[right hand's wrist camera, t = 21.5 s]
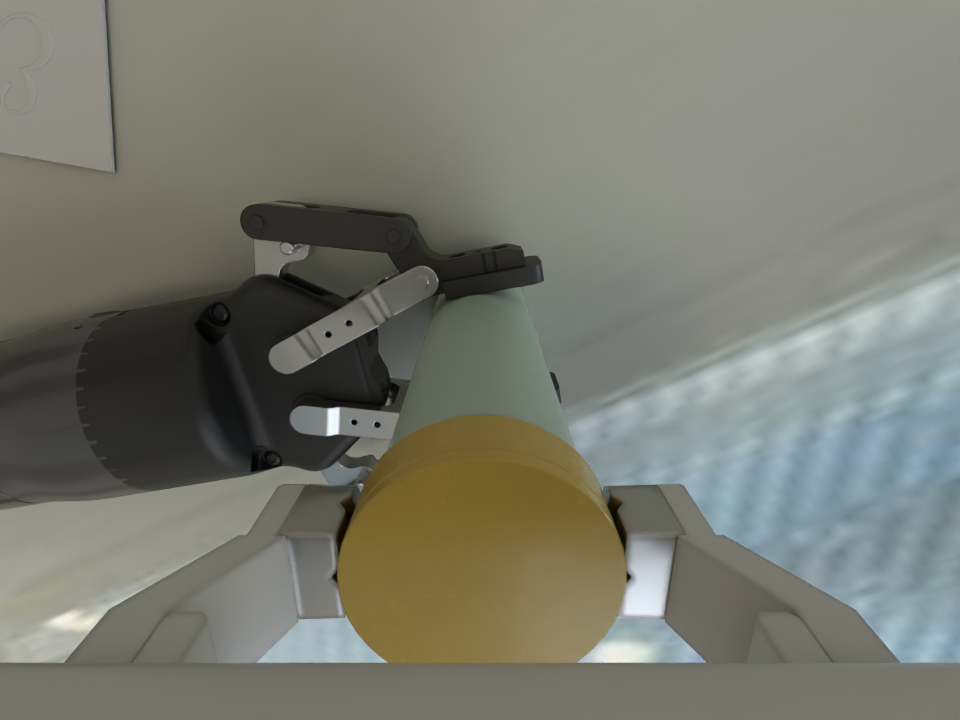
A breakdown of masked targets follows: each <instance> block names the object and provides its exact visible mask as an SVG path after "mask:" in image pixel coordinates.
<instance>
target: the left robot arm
mask: <svg viewBox="0 0 960 720" xmlns="http://www.w3.org/2000/svg"><path fill="white" fill-rule="evenodd" d="M240 222H241V226H242V228H243V230H244V232H245V233H246V234H247V235H248V236H250V237H251V238H253V244H254V268H255V276H253V277H251V278H249V279H247V280H246V281H245V282H244V283H243V284H242V285H241V286H240V287H239V288H237V289H236V290H233V291H229V292H224V293H219V294H213V295H208V296H203V297H198V298H192V299H187V300H182V301H176V302H171V303H166V304H160V305H155V306H150V307H145V308H139V309H134V310H129V311H123V312H122V311H111V312H103V313H97V314H94V315H93V316H91V317H89V318H86V319H81V320H76V321H71V322H67V323H63V324H58V325H54V326H51V327H48V328H45V329H42V330H39V331H36V332H33V333H31V334H28V335H25V336H22V337H18V338H14V339H9V340H4V341H0V510H4V509H10V508H16V507H22V506H28V505H34V504H40V503H46V502H54V501H90V500H99V499H107V498H114V497H120V496H126V495H132V494H138V493H144V492H151V491H157V490H163V489H169V488H175V487H181V486H187V485H193V484H199V483H205V482H212V481H218V480H224V479H230V478H236V477H242V476H248V475H253V474H256V473H260V472H263V471H266V470H269V469H272V468H276V467H280V466H292V467H297V468H301V469H304V470H308V471H321V472H322V474H323V475H324V477H325V478H326V480H327V481H328V482H329V484H330V485H358V487H359V489H360V493H361V491H362V488H363V486H364V483H365V481H366V479H367V477H368V475H369V474H370V472H371V470H372V469H373V467H374V466H375V464H376V463H377V462H378V461H379V460H380V459H379V460H377V459H376V458H375V456H373V455H367V456H362V457H358V458H354V457H350V456H348V455H346V454H345V453H346V452H347V451H348V450H349V449H350V448H351V447H352V446H353V444H354V443H355V442H356V441H357V440H358V439H359V438H360V437H367V438H376V439H385V440H391V438H392V435H393V432H394V429H395V426H396V423H397V420H398V417H399V414H400V411H401V408H402V405H403V402H404V399H405V396H406V393H407V390H408V387H409V384H410V381H411V380H403V379H395V378H390V376H389V372H388V369H387V367H386V365H385V363H384V362H383V360H382V358H381V356H380V355H379V353H378V331H377V327H378V326H380V325H382V324H383V323H385V322H386V321H387V320H388V319H390V318H391V317H393V316H395V315H396V314H398V313H400V312H402V311H404V310H406V309H408V308H410V307H412V306H413V305H415V304H417V303H419V302H421V301H423V300H425V299H427V298H429V297H430V296H434V295H439V294H445V298H446V300H451V299H456V298H462V297H467V296H471V295H478V294H484V293H489V292H495V291H500V290H505V289H511V288H516V287H522V286H527V285H533V284H537V283H540V282H542V281H544V277H543V270H542V264H541V260H540V259H539V257H538V256H526V257H524V253H523V250H522V248H521V246H517V245H512V244H502V245H496V246H492V247H486V248H481V249H475V250H470V251H465V252H459V253H454V254H449V255H441V254H438V253H436V252H434V251H432V250H431V249H430V248H429V247H428V245H427V244H426V242H425V241H424V239H423V237H422V236H421V234H420V232H419V231H418V225H417V223H416V221H415V219H414V218H413V217H411V216H410V215H408V214H403V213H394V212H384V211H375V210H365V209H356V208H346V207H337V206H327V205H318V204H308V203H299V202H289V201H274V202H266V203H259V204H254V205H250V206H248V207H246V208H245V209H244V210H243V211H242V213H241V217H240ZM316 246H324V247H334V248H344V249H353V250H363V251H373V252H383V253H388V255H389V257H390V258H391V260H392V261H393V263H394V264H395V266H396V267H397V269H398V270H396V271H395V272H393V273H391V274H389V275H387V276H385V277H382V278H380V279H378V280H376V281H374V282H372V283H370V284H369V285H367V286H365V287H363V288H361V289H359V290H358V291H356V292H354V293H352V294H350V295H348V296H347V297H345V298H344V297H341V296H339V295H337V294H335V293H332V292H330V291H328V290H326V289H323V288H321V287H319V286H317V285H314V284H312V283H310V282H308V281H306V280H303V279H301V278H299V277H297V276H294V275H292V274H290V273H288V272H287V269H288V266H289V264H290V263H291V262H298V261H301V260H303V259H305V258H307V257H309V256H311V255H312V254H313V253H314V251H315V249H316ZM549 373H550V376H551V379H552V382H553V385H554V388H555V391H556V394H557V397H558V400H559V402H560V403H561V397H560V390H559V385H558V382H557V379H556V376H555V374H554V373H552V372H549Z"/></svg>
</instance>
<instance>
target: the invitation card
mask: <svg viewBox="0 0 960 720" xmlns="http://www.w3.org/2000/svg"><path fill="white" fill-rule="evenodd" d="M0 152H1V153H6V154H12V155H17V156H23V157H29V158H34V159H40V160H46V161H51V162H57V163H62V164H68V165H74V166H79V167H85V168H91V169H96V170H102V171H108V172H115V167H114V150H113V133H112V116H111V99H110V82H109V65H108V48H107V31H106V14H105V0H0Z"/></svg>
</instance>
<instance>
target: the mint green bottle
mask: <svg viewBox="0 0 960 720" xmlns="http://www.w3.org/2000/svg"><path fill="white" fill-rule="evenodd" d="M470 415H494V416H502V417H509V418H513V419H517V420H521V421H525V422H528V423H531V424H533V425H536V426H538V427H541V428H543V429H545V430H547V431H549V432H551V433H552V434H554V435H556V436H558V437H559V438H561V439H562V440H563V441H565V442H566V443H567V444H569V445H570V446H571V447H572V448H573V449H575V447H574V444H573V441H572V438H571V435H570V432H569V429H568V426H567V423H566V420H565V417H564V414H563V411H562V408H561V405H560V402H559V400H558V397H557V394H556V391H555V388H554V385H553V382H552V379H551V376H550V373H549V370H548V367H547V364H546V361H545V358H544V355H543V352H542V349H541V346H540V343H539V340H538V337H537V334H536V332H535V329H534V326H533V323H532V320H531V317H530V314H529V311H528V308H527V305H526V302H525V299H524V296H523V293H522V290H521V288H520V287H516V288H511V289H505V290H500V291H495V292H489V293H484V294H478V295H471V296H467V297H462V298H456V299H451V300H446V298H445V294H439V296H438V299H437V302H436V305H435V308H434V311H433V314H432V317H431V320H430V323H429V326H428V329H427V332H426V335H425V338H424V341H423V344H422V347H421V350H420V353H419V357H418V360H417V363H416V366H415V369H414V372H413V375H412V378H411V381H410V384H409V387H408V390H407V393H406V396H405V399H404V402H403V405H402V408H401V411H400V414H399V417H398V420H397V423H396V426H395V429H394V432H393V435H392V438H391V441H390V444H389V447H388V450H389V449H390V448H391V447H392V446H394V445H395V444H396V443H397V442H399V441H400V440H402V439H403V438H405V437H406V436H407V435H409V434H411V433H413V432H415V431H417V430H419V429H421V428H423V427H425V426H427V425H430V424H433V423H436V422H439V421H442V420H446V419H450V418H455V417H461V416H470ZM388 450H387V451H388Z"/></svg>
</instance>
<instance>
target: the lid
mask: <svg viewBox="0 0 960 720" xmlns="http://www.w3.org/2000/svg"><path fill="white" fill-rule="evenodd" d="M337 581H338V590H339V594H340V598H341V602H342V605H343V608H344V610H345V612H346V615H347V617H348V619H349V621H350V622H351V624H352V626H353V627H354V629H355V630H356V632H357V633H358V635H359V636H360V637H361V638H362V639H363V641H364V642H365V643H366V644H367V645H368V646H369V647H370V648H371V649H372V650H373V651H374V652H375V653H377V654H378V655H379V656H380V657H382V658H383V659H384V660H386V661H387V662H388V663H576V662H577V661H579V660H580V659H581V658H583V657H584V656H585V655H586V654H587V653H589V652H590V651H591V650H592V649H593V648H594V647H595V646H596V645H597V644H598V643H599V642H600V641H601V639H602V638H603V637H604V636H605V635H606V633H607V632H608V630H609V629H610V627H611V626H612V624H613V623H614V621H615V619H616V617H617V615H618V613H619V610H620V608H621V605H622V601H623V598H624V595H625V588H626V581H627V565H626V558H625V553H624V548H623V545H622V542H621V540H620V537H619V534H618V532H617V529H616V526H615V524H614V521H613V518H612V516H611V513H610V510H609V508H608V505H607V502H606V500H605V497H604V494H603V492H602V489H601V486H600V484H599V481H598V480H597V478H596V476H595V474H594V472H593V471H592V469H591V468H590V466H589V465H588V464H587V462H586V461H585V460H584V459H583V457H582V456H581V455H580V454H579V453H578V452H577V451H576V450H575V449H573V448H572V447H571V446H570V445H569V444H567V443H566V442H565V441H563V440H562V439H561V438H559V437H558V436H556V435H554V434H552V433H551V432H549V431H547V430H545V429H543V428H541V427H538V426H536V425H533V424H531V423H528V422H525V421H521V420H517V419H513V418H509V417H502V416H494V415H470V416H461V417H455V418H450V419H446V420H442V421H439V422H436V423H433V424H430V425H427V426H425V427H423V428H421V429H419V430H417V431H415V432H413V433H411V434H409V435H407V436H406V437H405V438H403V439H402V440H400V441H399V442H397V443H396V444H395V445H394V446H392V447H391V448H390V449H389V450H388V451H387V452H386V453H385V454H384V455H383V456H382V457H381V458H380V460H379V461H378V462H377V463H376V464H375V466H374V467H373V469H372V470H371V472H370V474H369V475H368V477H367V479H366V481H365V483H364V486H363V488H362V491H361V493H360V496H359V498H358V501H357V504H356V506H355V509H354V512H353V514H352V517H351V520H350V523H349V525H348V528H347V531H346V533H345V536H344V539H343V541H342V544H341V548H340V552H339V557H338V565H337Z"/></svg>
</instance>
